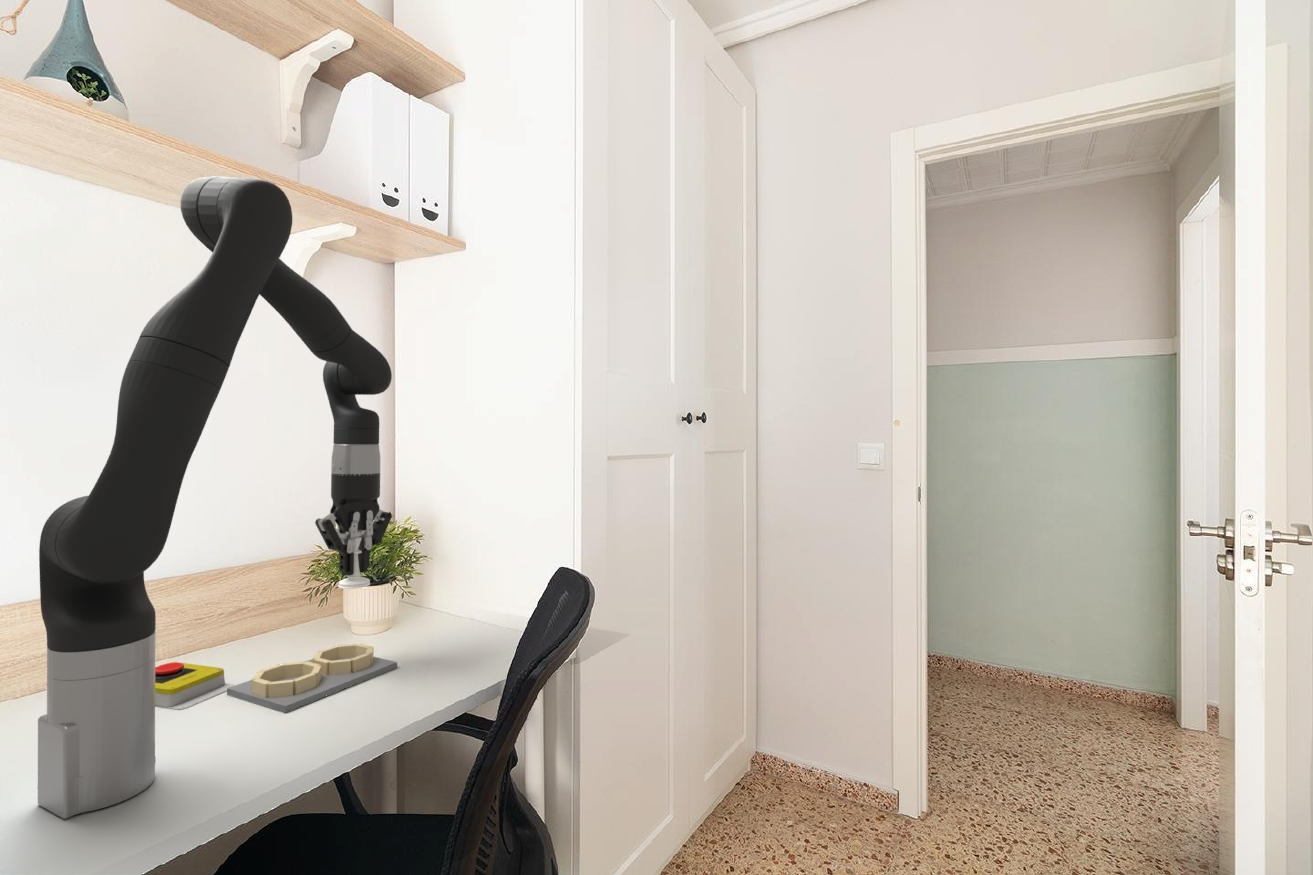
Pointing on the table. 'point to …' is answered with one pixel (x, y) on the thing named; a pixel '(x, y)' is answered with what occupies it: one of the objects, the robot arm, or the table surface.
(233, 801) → the table surface
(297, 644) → the table surface
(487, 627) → the table surface
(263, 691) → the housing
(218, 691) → the emergency button
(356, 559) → the chess piece
